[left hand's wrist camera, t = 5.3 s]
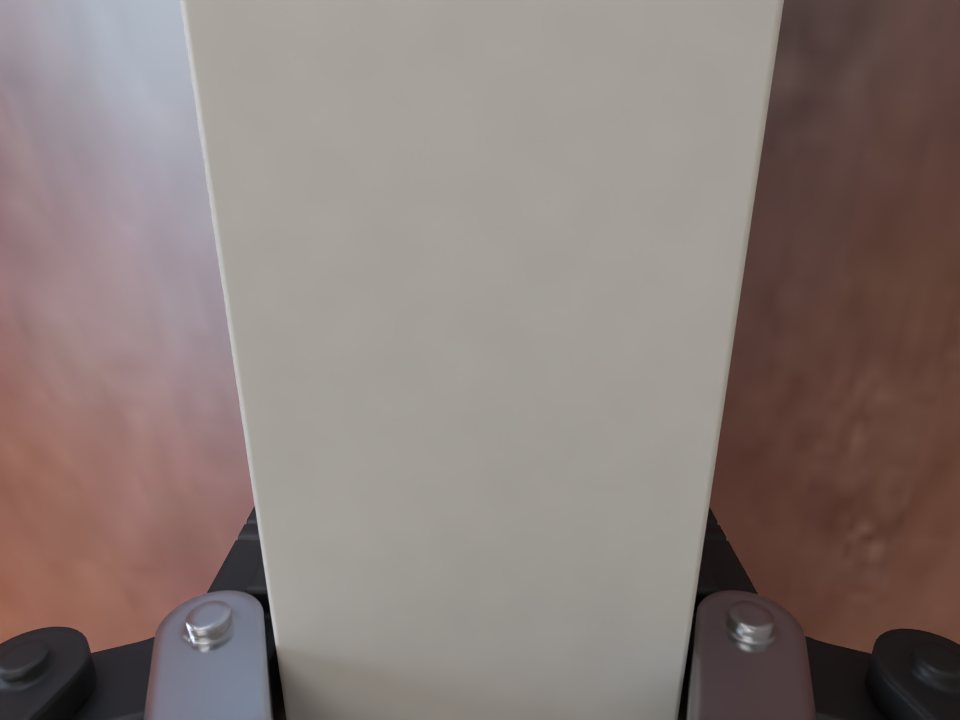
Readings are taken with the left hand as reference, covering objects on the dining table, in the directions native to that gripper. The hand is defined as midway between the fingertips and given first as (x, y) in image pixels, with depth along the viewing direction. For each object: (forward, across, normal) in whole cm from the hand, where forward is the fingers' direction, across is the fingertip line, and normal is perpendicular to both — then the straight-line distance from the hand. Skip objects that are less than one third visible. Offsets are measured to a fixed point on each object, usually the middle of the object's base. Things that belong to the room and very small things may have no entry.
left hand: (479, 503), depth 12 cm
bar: (+3, 0, -18) cm, 18 cm away
